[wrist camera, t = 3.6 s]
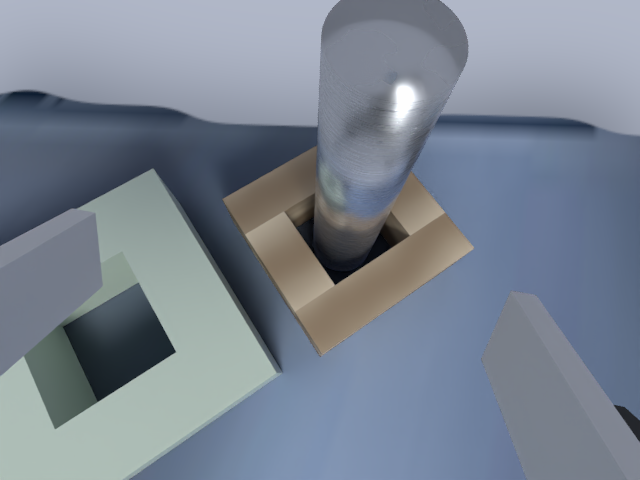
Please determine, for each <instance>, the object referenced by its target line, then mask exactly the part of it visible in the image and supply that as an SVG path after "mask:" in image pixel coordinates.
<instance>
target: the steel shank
mask: <svg viewBox="0 0 640 480" xmlns="http://www.w3.org/2000/svg"><path fill="white" fill-rule="evenodd" d="M467 57H468V40H467V36H466V33H465V30H464V28H463V26H462V24H461V22H460V21H459V19H458V18H457V16H456V15H455V14H454V13H453V12H452V11H451V9H449V8H448V7H447V6H446V5H445V4H444V3H442V2H441V1H440V0H341V1H339V2H338V3H337V4H336V5H335V6H334V7H333V8H332V10H331V11H330V13H329V14H328V16H327V18H326V20H325V22H324V25H323V29H322V37H321V61H320V85H319V109H318V111H319V112H318V134H317V159H316V184H315V209H314V233H313V248H314V252H315V255H316V257H317V258H318V260H319V261H320V262H321V263H322V264H323V265H324V266H326V267H327V268H329V269H332V270H335V271H350V270H353V269H355V268H357V267H359V266H360V265H361V264H362V263H363V262H364V261H365V259H366V258H367V256H368V254H369V252H370V250H371V248H372V246H373V244H374V242H375V240H376V238H377V237H378V235H379V233H380V231H381V229H382V227H383V225H384V223H385V221H386V219H387V217H388V215H389V213H390V211H391V209H392V207H393V205H394V203H395V201H396V200H397V198H398V196H399V194H400V192H401V190H402V188H403V186H404V184H405V182H406V180H407V178H408V176H409V174H410V172H411V170H412V168H413V166H414V164H415V162H416V161H417V159H418V157H419V155H420V153H421V151H422V149H423V147H424V145H425V143H426V141H427V139H428V137H429V135H430V133H431V131H432V129H433V127H434V125H435V124H436V122H437V120H438V118H439V116H440V114H441V112H442V110H443V108H444V106H445V104H446V102H447V100H448V98H449V96H450V94H451V92H452V90H453V88H454V87H455V84H456V83H457V81H458V78H459V77H460V75H461V73H462V71H463V69H464V67H465V64H466V61H467Z"/></svg>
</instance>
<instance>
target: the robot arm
mask: <svg viewBox="0 0 640 480" xmlns="http://www.w3.org/2000/svg"><path fill="white" fill-rule="evenodd" d="M102 286H103V282H102V272H101V262H100V252H99V243H98V233H97V223H96V213H94V212H89V211H83V210H78V209H73V208H72V209H70V210H68V211H66V212H64V213H62V214H60V215H58V216H56V217H55V218H53V219H51V220H49V221H47V222H45V223H43V224H41V225H39V226H37V227H35V228H34V229H32V230H30V231H28V232H26V233H24V234H22V235H20V236H18V237H16V238H14V239H13V240H11V241H9V242H7V243H5V244H3V245H1V246H0V376H1V375H3V374H4V373H5V372H6V371H7V370H8V369H9V368H10V367H12V366H13V365H14V364H15V363H16V362H17V361H18V360H20V359H21V358H22V357H23V356H24V355H25V354H26V353H28V352H29V351H30V350H31V349H32V348H33V347H34V346H35V345H37V344H38V343H39V342H40V341H41V340H42V339H43V338H45V337H46V336H47V335H48V334H49V333H50V332H51V331H53V330H54V329H55V328H56V327H57V326H58V325H59V324H60V323H62V322H63V321H64V320H65V319H66V318H67V317H68V316H70V315H71V314H72V313H73V312H74V311H75V310H76V309H77V308H79V307H80V306H81V305H82V304H83V303H84V302H85V301H87V300H88V299H89V298H90V297H91V296H92V295H93V294H95V293H96V292H97V291H98V290H99V289H100V288H101V287H102ZM481 360H482V362H483V365H484V368H485V370H486V373H487V376H488V378H489V381H490V384H491V386H492V389H493V391H494V394H495V397H496V399H497V402H498V405H499V407H500V410H501V413H502V415H503V418H504V421H505V423H506V426H507V429H508V431H509V434H510V436H511V439H512V442H513V444H514V447H515V450H516V452H517V455H518V458H519V460H520V463H521V466H522V468H523V471H524V474H525V476H526V479H527V480H640V421H639V420H638V419H637V418H636V417H635V416H634V415H633V414H632V413H630V412H629V411H628V410H627V409H626V408H625V407H621V406H616V405H613V404H612V402H611V401H610V399H609V398H608V397H607V395H606V394H605V392H604V391H603V390H602V388H601V387H600V385H599V384H598V382H597V381H596V380H595V378H594V377H593V375H592V374H591V373H590V371H589V370H588V368H587V367H586V365H585V364H584V363H583V361H582V360H581V358H580V357H579V356H578V354H577V353H576V351H575V350H574V348H573V347H572V346H571V344H570V343H569V341H568V340H567V338H566V337H565V336H564V334H563V333H562V331H561V330H560V329H559V327H558V326H557V324H556V323H555V321H554V320H553V319H552V317H551V316H550V314H549V313H548V312H547V310H546V309H545V307H544V306H543V304H542V303H541V302H540V300H539V299H538V297H537V296H536V295H532V294H527V293H521V292H516V291H511V292H510V294H509V296H508V298H507V301H506V303H505V305H504V308H503V310H502V312H501V315H500V317H499V319H498V321H497V324H496V326H495V328H494V331H493V333H492V335H491V338H490V340H489V342H488V344H487V347H486V349H485V351H484V354H483V356H482V358H481Z"/></svg>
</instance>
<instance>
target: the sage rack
mask: <svg viewBox="0 0 640 480" xmlns="http://www.w3.org/2000/svg"><path fill="white" fill-rule="evenodd" d="M77 209H78V210H83V211H89V212H94V213H96V223H97V233H98V243H99V252H100V262H101V272H102V282H103V286H102V287H101V288H100V289H99V290H98V291H97V292H96V293H95V294H93V295H92V296H91V297H90V298H89V299H88V300H87V301H85V302H84V303H83V304H82V305H81V306H80V307H79V308H77V309H76V310H75V311H74V312H73V313H72V314H71V315H70V316H68V317H67V318H66V319H65V320H64V321H63V322H62V323H60V324H59V325H58V326H57V327H56V328H55V329H54V330H53V331H51V332H50V333H49V334H48V335H47V336H46V337H45V338H43V339H42V340H41V341H40V342H39V343H38V344H37V345H35V346H34V347H33V348H32V349H31V350H30V351H29V352H28V353H26V354H25V355H24V356H23V357H22V358H21V359H20V360H18V361H17V362H16V363H15V364H14V365H13V366H12V367H10V368H9V369H8V370H7V371H6V372H5V373H4V374H3V375H1V376H0V480H129V479H130V478H132V477H133V476H134V475H136V474H137V473H139V472H140V471H142V470H143V469H145V468H146V467H147V466H149V465H150V464H152V463H153V462H155V461H156V460H158V459H159V458H160V457H162V456H163V455H165V454H166V453H168V452H169V451H171V450H172V449H173V448H175V447H176V446H178V445H179V444H181V443H182V442H184V441H185V440H187V439H188V438H189V437H191V436H192V435H194V434H195V433H197V432H198V431H200V430H201V429H202V428H204V427H205V426H207V425H208V424H210V423H211V422H213V421H214V420H215V419H217V418H218V417H220V416H221V415H223V414H224V413H226V412H227V411H228V410H230V409H231V408H233V407H234V406H236V405H237V404H239V403H240V402H241V401H243V400H244V399H246V398H247V397H249V396H250V395H252V394H253V393H255V392H256V391H257V390H259V389H260V388H262V387H263V386H265V385H266V384H268V383H269V382H270V381H272V380H273V379H275V378H276V377H278V376H279V375H281V374H282V371H281V369H280V368H279V366H278V364H277V363H276V361H275V359H274V358H273V356H272V354H271V353H270V351H269V350H268V348H267V346H266V345H265V343H264V341H263V340H262V338H261V336H260V335H259V333H258V331H257V330H256V328H255V326H254V325H253V323H252V322H251V320H250V318H249V317H248V315H247V313H246V312H245V310H244V308H243V307H242V305H241V303H240V302H239V300H238V299H237V297H236V295H235V294H234V292H233V290H232V289H231V287H230V285H229V284H228V282H227V280H226V279H225V277H224V275H223V274H222V272H221V271H220V269H219V267H218V266H217V264H216V262H215V261H214V259H213V257H212V256H211V254H210V252H209V251H208V249H207V247H206V246H205V244H204V243H203V241H202V239H201V238H200V236H199V234H198V233H197V231H196V229H195V228H194V226H193V224H192V223H191V221H190V220H189V218H188V216H187V215H186V213H185V211H184V210H183V208H182V206H181V205H180V203H179V202H178V200H177V199H176V198H175V196H174V195H173V194H172V192H171V191H170V190H169V188H168V187H167V186H166V185H165V183H164V182H163V181H162V179H161V178H160V177H159V175H158V174H157V173H156V171H155V170H154V169H151V170H149V171H147V172H145V173H143V174H141V175H140V176H138V177H136V178H134V179H132V180H130V181H128V182H126V183H124V184H123V185H121V186H119V187H117V188H115V189H113V190H111V191H109V192H107V193H106V194H104V195H102V196H100V197H98V198H96V199H94V200H92V201H91V202H89V203H87V204H85V205H83V206H81V207H79V208H77ZM138 282H139V284H140V286H141V287H142V289H143V291H144V293H145V295H146V297H147V299H148V300H149V302H150V304H151V306H152V308H153V310H154V312H155V313H156V315H157V317H158V319H159V321H160V323H161V325H162V326H163V328H164V330H165V332H166V334H167V336H168V338H169V339H170V341H171V343H172V345H173V347H174V349H175V351H176V353H174V354H173V355H171V356H169V357H168V358H166V359H165V360H163V361H162V362H160V363H158V364H157V365H155V366H154V367H152V368H151V369H149V370H147V371H146V372H144V373H143V374H141V375H140V376H138V377H137V378H135V379H133V380H132V381H130V382H129V383H127V384H126V385H124V386H122V387H121V388H119V389H118V390H116V391H115V392H113V393H111V394H110V395H108V396H107V397H105V398H104V399H102V400H101V401H99V402H98V401H97V399H96V397H95V395H94V393H93V391H92V388H91V386H90V384H89V382H88V380H87V378H86V376H85V373H84V371H83V369H82V367H81V365H80V363H79V361H78V358H77V356H76V354H75V352H74V350H73V348H72V346H71V343H70V341H69V339H68V337H67V335H66V333H65V330H64V328H63V326H65V325H67V324H69V323H70V322H72V321H74V320H75V319H77V318H79V317H81V316H82V315H84V314H86V313H87V312H89V311H91V310H92V309H94V308H96V307H98V306H99V305H101V304H103V303H104V302H106V301H108V300H109V299H111V298H113V297H115V296H116V295H118V294H120V293H121V292H123V291H125V290H126V289H128V288H130V287H132V286H133V285H135V284H137V283H138Z"/></svg>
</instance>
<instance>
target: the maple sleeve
mask: <svg viewBox="0 0 640 480" xmlns="http://www.w3.org/2000/svg"><path fill="white" fill-rule="evenodd" d="M316 159H317V146H315V147H313V148H311V149H310V150H308V151H306V152H304V153H303V154H301V155H299V156H297V157H296V158H294V159H292V160H290V161H288V162H287V163H285V164H283V165H281V166H280V167H278V168H276V169H274V170H273V171H271V172H269V173H267V174H266V175H264V176H262V177H260V178H259V179H257V180H255V181H253V182H252V183H250V184H248V185H246V186H244V187H243V188H241V189H239V190H237V191H236V192H234V193H232V194H230V195H229V196H227V197H225V198H223V199H222V200H223V202H224V204H225V206H226V208H227V210H228V212H229V214H230V216H231V218H232V220H233V222H234V224H235V225H236V227H237V228H238V230H239V231H240V233H241V234H242V236H243V238H244V239H245V241H246V242H247V244H248V245H249V247H250V249H251V250H252V252H253V253H254V255H255V256H256V258H257V259H258V261H259V263H260V264H261V266H262V267H263V269H264V270H265V272H266V273H267V275H268V277H269V278H270V280H271V281H272V283H273V284H274V286H275V287H276V289H277V291H278V292H279V294H280V295H281V297H282V298H283V300H284V301H285V303H286V305H287V306H288V308H289V309H290V311H291V312H292V314H293V315H294V317H295V319H296V320H297V322H298V323H299V325H300V326H301V328H302V330H303V331H304V333H305V334H306V336H307V337H308V339H309V340H310V342H311V344H312V345H313V347H314V348H315V350H316V351H317V353H318V354H319V356H320V357H321V356H322V355H324V354H325V353H326V352H328V351H329V350H331V349H332V348H334V347H335V346H336V345H338V344H339V343H341V342H342V341H344V340H345V339H346V338H348V337H349V336H351V335H352V334H354V333H355V332H357V331H358V330H359V329H361V328H362V327H364V326H365V325H367V324H368V323H369V322H371V321H372V320H374V319H375V318H377V317H378V316H379V315H381V314H382V313H384V312H385V311H387V310H388V309H390V308H391V307H392V306H394V305H395V304H397V303H398V302H400V301H401V300H402V299H404V298H405V297H407V296H408V295H410V294H411V293H412V292H414V291H415V290H417V289H418V288H420V287H421V286H423V285H424V284H425V283H427V282H428V281H430V280H431V279H433V278H434V277H435V276H437V275H438V274H440V273H441V272H443V271H444V270H445V269H447V268H448V267H450V266H451V265H453V264H454V263H455V262H457V261H458V260H459V259H461V258H462V257H463V256H465V255H466V254H467V253H469V252H470V251H471V250H473V249H474V247H473V246H472V245H471V244H470V242H469V241H468V240H467V239H466V237H465V236H464V235H463V234H462V233H461V231H460V230H459V229H458V228H457V226H456V225H455V224H454V223H453V222H452V220H451V219H450V218H449V217H448V215H447V214H446V213H445V212H444V211H443V209H442V208H441V207H440V206H439V204H438V203H437V202H436V201H435V200H434V198H433V197H432V196H431V195H430V193H429V192H428V191H427V190H426V189H425V187H424V186H423V185H422V184H421V182H420V181H419V180H418V179H417V178H416V176H415V175H414V174H413V173H412V171H411V172H410V174H409V176H408V178H407V180H406V182H405V184H404V186H403V188H402V190H401V192H400V194H399V196H398V198H397V200H396V201H395V203H394V205H393V207H392V209H391V211H390V213H389V215H388V217H387V219H386V221H385V223H384V225H383V227H382V229H381V231H380V234H381V235H382V236H383V238H384V239H385V240H386V242H387V243H388V244H389V246H390V247H391V249H389V250H388V251H386V252H385V253H383V254H382V255H380V256H379V257H377V258H376V259H374V260H373V261H371V262H370V263H368V264H367V265H365V266H364V267H362V268H361V269H359V270H357V271H356V272H354V273H353V274H351V275H350V276H348V277H347V278H345V279H344V280H342V281H341V282H339V283H338V284H336V285H335V284H334V283H333V281H332V280H331V279H330V277H329V276H328V274H327V273H326V271H325V270H324V268H323V267H322V265H321V264H320V263H319V261H318V260H317V258H316V257H315V255H314V254H313V252H312V251H311V250H310V248H309V247H308V245H307V244H306V242H305V241H304V239H303V238H302V236H301V235H300V234H299V232H298V231H297V229H296V228H297V227H298V226H300V225H302V224H303V223H305V222H306V221H308V220H310V219H311V218H313V217H314V209H315V184H316Z"/></svg>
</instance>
